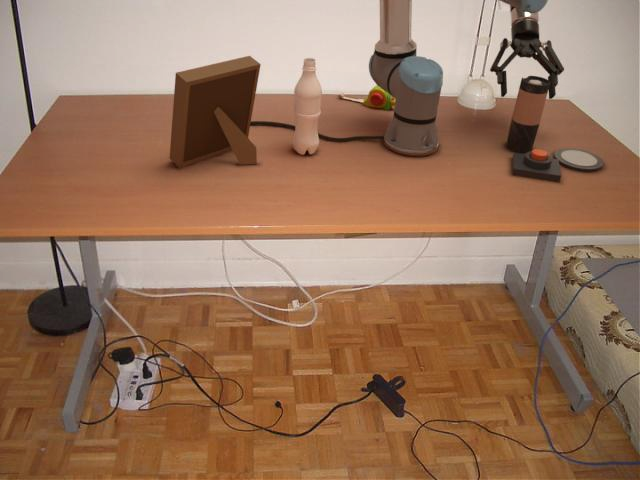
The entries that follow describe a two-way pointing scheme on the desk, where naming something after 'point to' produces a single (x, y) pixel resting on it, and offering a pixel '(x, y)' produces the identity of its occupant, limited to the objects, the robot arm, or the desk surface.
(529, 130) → the travel mug
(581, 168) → the plate
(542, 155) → the button
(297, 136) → the water bottle
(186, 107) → the photo frame
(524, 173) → the switch
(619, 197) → the desk surface
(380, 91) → the toy measuring tape
